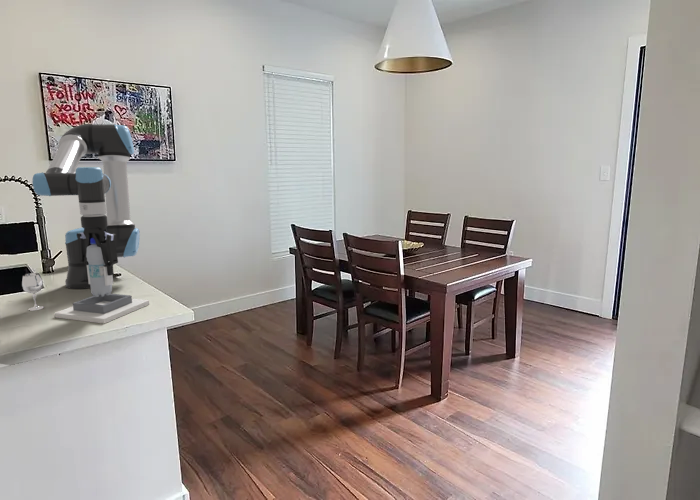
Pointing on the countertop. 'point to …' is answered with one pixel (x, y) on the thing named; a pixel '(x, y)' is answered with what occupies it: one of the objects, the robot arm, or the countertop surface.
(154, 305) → the countertop surface
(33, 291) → the wineglass
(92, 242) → the bottle
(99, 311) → the dock
